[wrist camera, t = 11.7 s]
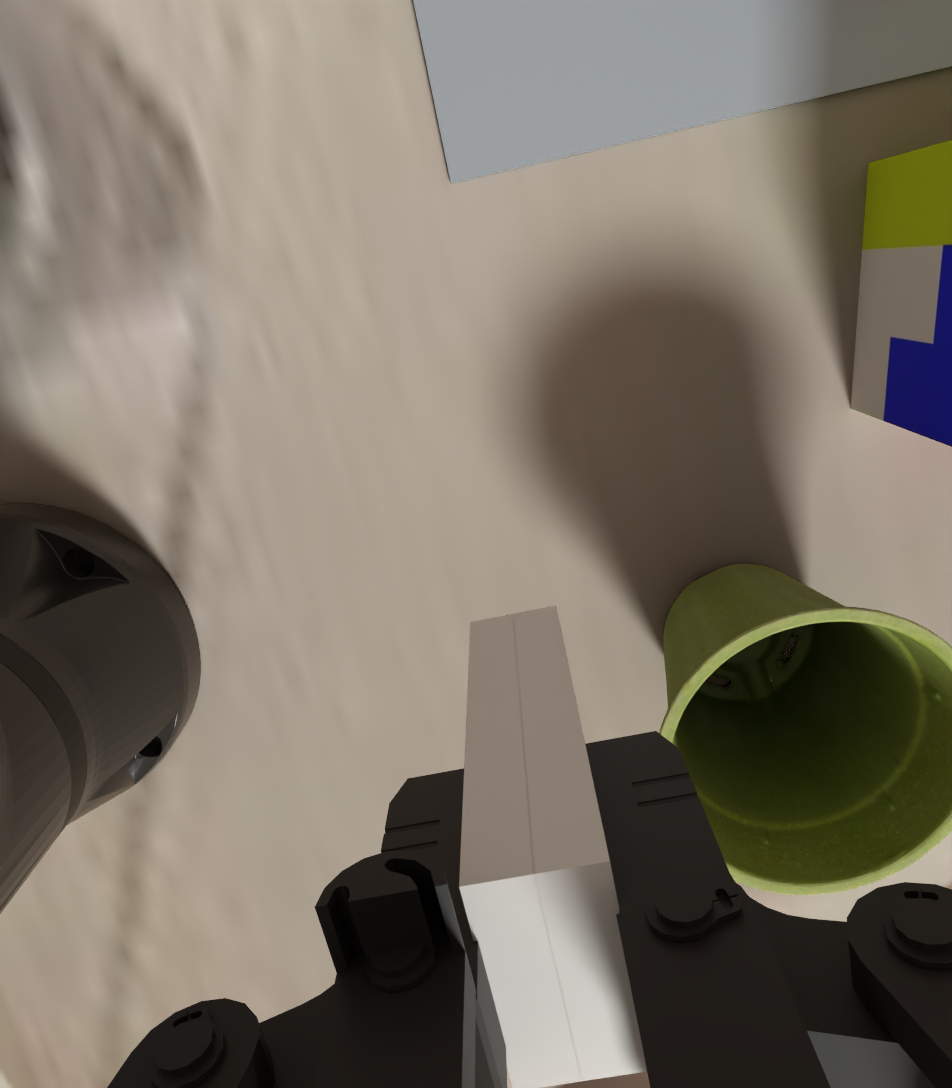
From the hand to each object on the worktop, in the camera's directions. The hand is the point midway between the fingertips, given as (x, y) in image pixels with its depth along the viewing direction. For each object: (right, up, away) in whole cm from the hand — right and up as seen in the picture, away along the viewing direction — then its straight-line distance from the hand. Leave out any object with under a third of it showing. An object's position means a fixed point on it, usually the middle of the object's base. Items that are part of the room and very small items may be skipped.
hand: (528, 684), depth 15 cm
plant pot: (+12, -2, +26) cm, 29 cm away
